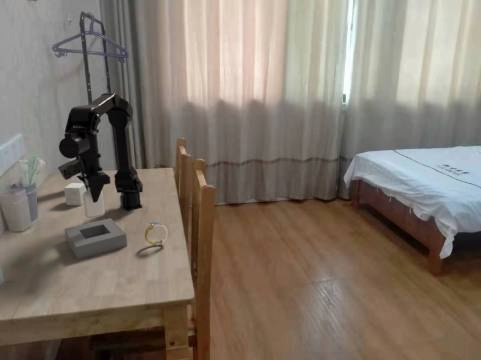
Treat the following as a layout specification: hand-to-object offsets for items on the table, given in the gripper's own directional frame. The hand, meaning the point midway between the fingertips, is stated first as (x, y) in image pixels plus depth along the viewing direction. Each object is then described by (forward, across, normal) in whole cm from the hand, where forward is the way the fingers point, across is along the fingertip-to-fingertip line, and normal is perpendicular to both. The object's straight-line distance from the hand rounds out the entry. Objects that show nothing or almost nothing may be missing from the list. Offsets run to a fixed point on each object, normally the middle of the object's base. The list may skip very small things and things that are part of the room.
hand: (93, 200), depth 119 cm
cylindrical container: (+13, -54, +9) cm, 56 cm away
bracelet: (+14, +13, +14) cm, 24 cm away
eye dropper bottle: (+5, 0, 0) cm, 5 cm away
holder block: (+14, +1, -1) cm, 14 cm away
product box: (+13, -38, +3) cm, 40 cm away
